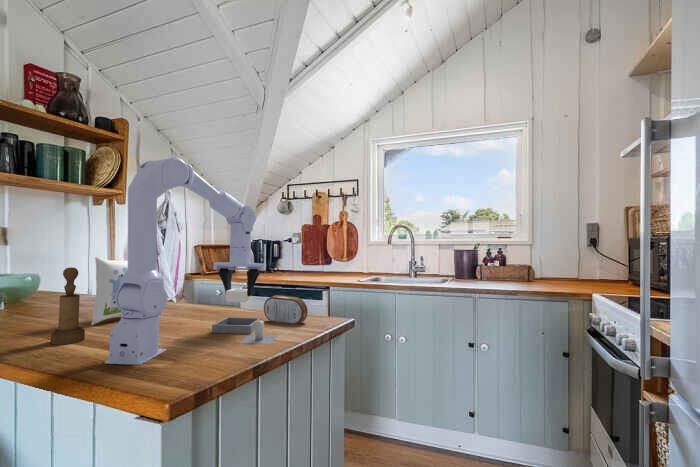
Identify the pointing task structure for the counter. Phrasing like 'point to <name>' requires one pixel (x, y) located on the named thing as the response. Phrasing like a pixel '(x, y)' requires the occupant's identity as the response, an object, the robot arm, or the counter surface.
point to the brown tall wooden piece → (68, 313)
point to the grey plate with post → (259, 335)
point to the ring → (237, 295)
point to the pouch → (107, 288)
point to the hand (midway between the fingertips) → (238, 295)
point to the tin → (285, 309)
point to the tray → (235, 325)
